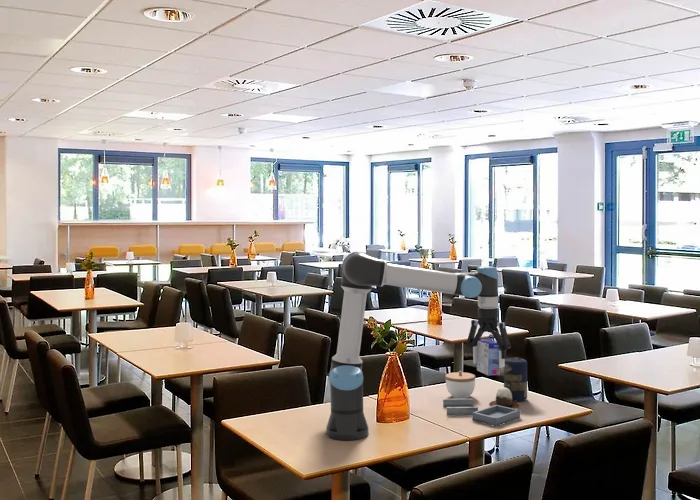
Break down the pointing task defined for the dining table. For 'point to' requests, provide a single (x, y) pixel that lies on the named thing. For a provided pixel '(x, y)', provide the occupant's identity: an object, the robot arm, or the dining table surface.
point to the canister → (516, 378)
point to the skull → (504, 399)
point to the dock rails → (459, 406)
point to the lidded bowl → (460, 384)
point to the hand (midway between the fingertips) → (488, 365)
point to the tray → (495, 415)
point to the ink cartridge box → (488, 356)
